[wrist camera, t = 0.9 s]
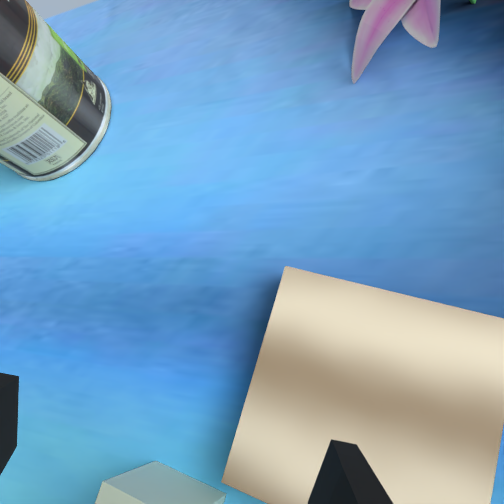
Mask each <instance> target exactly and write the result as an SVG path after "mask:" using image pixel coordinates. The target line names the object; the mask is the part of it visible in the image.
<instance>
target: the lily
mask: <svg viewBox="0 0 504 504" xmlns="http://www.w3.org/2000/svg"><path fill="white" fill-rule="evenodd" d="M469 1H470V2H471V4H475V3H476V0H469ZM349 3H350V7H351V8H354V9H359V10H365V12H364V14H363V16H362V19H361V21H360V24H359V28H358V32H357V35H356V41H355V46H354V52H353V61H352V80H353V84H354V83H356V81H357V80H358V79H359V77H360V76H361V74H362V73H363V71H364V69H365V68H366V66H367V64H368V63H369V61H370V60H371V58H372V57H373V55H374V53H375V52H376V50H377V49H378V47H379V46H380V45H381V43H382V42H383V41H384V39H385V38H386V37H387V35H388V34H389V33H390V32H391V30H392V29H393V28H394V27H395V25H396V24H397V23H398V22H399V20H400V19H401V21H402V24H403V26H404V28H405V29H406V30H407V32H408V33H410V34H411V35H412V36H413V37H414V38H415V39H417V40H418V41H419V42H421V43H422V44H424V45H426V46H428V47H431V48H432V47H436V46H437V43H438V40H439V24H440V0H350V2H349Z"/></svg>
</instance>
